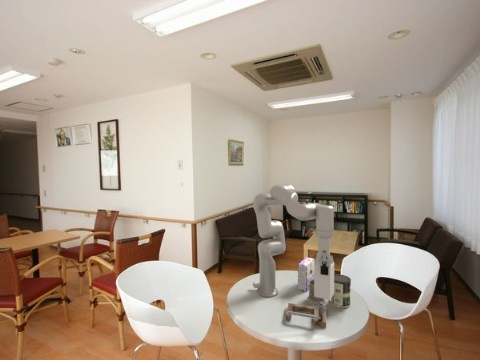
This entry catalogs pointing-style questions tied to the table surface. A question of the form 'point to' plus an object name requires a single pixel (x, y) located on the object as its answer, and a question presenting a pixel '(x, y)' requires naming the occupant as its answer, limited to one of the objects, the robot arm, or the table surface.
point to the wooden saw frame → (309, 310)
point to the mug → (311, 296)
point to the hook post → (321, 310)
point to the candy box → (305, 273)
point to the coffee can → (341, 291)
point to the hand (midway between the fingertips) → (324, 270)
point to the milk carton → (324, 279)
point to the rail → (302, 315)
